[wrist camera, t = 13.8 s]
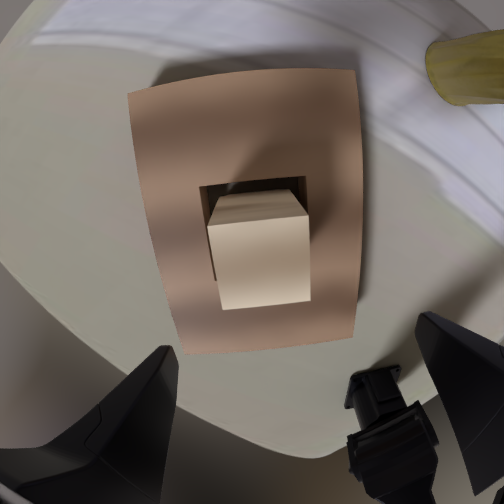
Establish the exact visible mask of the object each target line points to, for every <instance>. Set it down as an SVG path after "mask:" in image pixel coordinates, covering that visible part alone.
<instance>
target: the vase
mask: <svg viewBox="0 0 504 504" xmlns="http://www.w3.org/2000/svg"><path fill="white" fill-rule="evenodd" d="M426 69H427V72H428V76H429V78H430V81H431V83H432V85H433V86H434V88H435V90H436V91H437V92H438V94H439V95H440V96H441V97H442V98H443V99H444V100H446V101H447V102H449V103H450V104H452V105H455V106H465V105H468V104H504V29H503V30H495V31H489V32H483V33H478V34H473V35H469V36H466V37H462V38H458V39H454V40H449V41H442V42H435V43H433V44H431V45H430V47H429V48H428V50H427V53H426Z"/></svg>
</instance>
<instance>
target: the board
mask: <svg viewBox="0 0 504 504" xmlns="http://www.w3.org/2000/svg"><path fill="white" fill-rule="evenodd" d="M128 104H129V113H130V122H131V130H132V137H133V145H134V151H135V158H136V164H137V170H138V176H139V182H140V187H141V192H142V198H143V203H144V208H145V212H146V217H147V222H148V226H149V231H150V235H151V239H152V244H153V248H154V252H155V256H156V260H157V264H158V268H159V271H160V275H161V279H162V282H163V286H164V290H165V293H166V297H167V300H168V303H169V307H170V310H171V313H172V317H173V320H174V323H175V326H176V329H177V332H178V335H179V339H180V342H181V345H182V347H183V350H184V353H185V354H210V353H228V352H242V351H254V350H265V349H275V348H284V347H292V346H300V345H307V344H315V343H321V342H328V341H334V340H340V339H346V338H352V337H353V331H354V323H355V315H356V307H357V298H358V288H359V277H360V264H361V248H362V226H363V159H362V137H361V122H360V110H359V100H358V90H357V82H356V74H355V70H347V69H328V68H283V69H263V70H250V71H240V72H231V73H223V74H216V75H209V76H203V77H197V78H191V79H186V80H181V81H176V82H171V83H167V84H162V85H158V86H154V87H150V88H146V89H142V90H139V91H135V92H132V93H128ZM294 176H298V185H299V201H300V204H301V206H302V207H303V209H304V210H305V211H306V213H307V214H308V215H309V240H310V301H304V302H296V303H287V304H279V305H270V306H260V307H250V308H240V309H229V310H223V309H222V304H221V299H220V294H219V289H218V284H217V278H216V273H215V268H214V262H213V257H212V251H211V245H210V240H209V234H208V228H207V226H208V223H209V221H210V218H211V213H210V206H209V199H208V192H207V186H208V185H215V184H223V183H232V182H241V181H250V180H260V179H270V178H282V177H294Z"/></svg>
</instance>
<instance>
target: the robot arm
mask: <svg viewBox="0 0 504 504" xmlns="http://www.w3.org/2000/svg"><path fill="white" fill-rule="evenodd" d="M415 337H416V339H417V342H418V345H419V347H420V350H421V353H422V356H423V358H424V361H425V364H426V367H427V369H428V371H429V374H430V376H431V378H432V380H433V382H434V384H435V387H436V389H437V391H438V393H439V396H440V398H441V400H442V403H443V405H444V408H445V410H446V412H447V415H448V417H449V420H450V422H451V425H452V428H453V430H454V433H455V436H456V438H457V441H458V444H459V447H460V450H461V452H462V456H463V459H464V462H465V465H466V469H467V472H468V475H469V479H470V482H471V486H472V489H473V493H474V495H475V496H476V495H478V494H480V493H481V492H483V491H484V490H485V489H487V488H489V487H490V486H491V485H493V484H494V483H496V482H497V481H498V480H500V479H501V478H502V477H504V347H503V346H501V345H498V344H497V343H495V342H493V341H491V340H489V339H487V338H485V337H483V336H481V335H479V334H477V333H475V332H472V331H470V330H468V329H466V328H464V327H462V326H460V325H458V324H456V323H454V322H452V321H449V320H447V319H445V318H443V317H441V316H439V315H437V314H435V313H432V312H430V311H427V312H423V313H420V315H419V317H418V320H417V324H416V328H415ZM178 370H179V365H178V360H177V358H176V355H175V353H174V350H173V348H172V346H170V345H161V346H159V347H158V348H157V349H156V350H155V351H154V352H153V353H151V354H150V355H149V356H148V357H147V358H146V359H145V360H144V361H143V362H142V363H141V364H140V365H139V366H138V367H136V368H135V369H134V370H133V371H132V372H131V373H130V374H129V375H128V376H127V377H126V378H125V379H124V380H123V381H121V382H120V383H119V384H118V385H117V386H116V387H115V388H114V389H113V390H112V391H111V392H110V393H109V394H108V395H107V396H105V397H104V398H103V399H102V400H101V401H100V402H99V404H97V405H96V406H95V407H94V408H92V409H91V410H90V411H89V412H88V413H87V414H86V415H84V416H83V417H82V418H81V419H80V420H78V421H77V422H76V423H75V424H73V425H72V426H71V427H69V428H68V429H67V430H65V431H64V432H63V433H61V434H60V435H59V436H57V437H56V438H54V439H53V440H52V441H50V442H49V443H47V444H45V445H43V446H40V447H36V448H18V449H3V448H2V449H1V448H0V504H160V499H161V492H162V485H163V478H164V472H165V465H166V459H167V453H168V446H169V441H170V435H171V429H172V423H173V418H174V413H175V407H176V399H177V384H178ZM400 371H401V367H400V365H396V366H392V367H389V368H385V369H381V370H376V371H372V372H368V373H363V374H359V375H354V376H352V377H351V378H350V381H349V386H348V391H347V395H346V399H345V404H344V407H345V409H350V408H354V409H355V412H356V415H357V419H358V422H359V425H360V428H361V431H359V432H357V433H354V434H350V435H348V436H347V439H348V442H347V447H348V454H349V472H350V474H353V475H355V477H356V478H357V480H358V481H359V482H360V483H362V482H363V484H364V487H365V490H366V493H367V494H368V495H369V496H370V497H371V498H373V499H376V500H377V501H379V502H380V503H382V504H436V503H435V499H434V496H433V494H432V491H431V489H432V485H433V481H434V477H435V473H436V468H437V464H438V457H437V454H436V452H435V449H434V448H435V447H437V446H439V441H438V438H437V436H436V433H435V431H434V428H433V426H432V424H431V422H430V420H429V419H428V417H427V415H426V413H425V411H424V409H423V408H422V406H421V404H420V402H419V400H417V401H416V402H414V404H412V405H410V406H408V407H407V405H406V403H405V401H404V398H403V396H402V394H401V391H400V389H399V387H398V385H397V383H396V382H397V380H398V377H399V374H400ZM493 504H504V486H503V487H502V488H500V489H499V490H498V491H497V494H496V496H495V499H494V501H493Z"/></svg>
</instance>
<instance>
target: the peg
mask: <svg viewBox="0 0 504 504" xmlns="http://www.w3.org/2000/svg"><path fill="white" fill-rule="evenodd" d="M207 228H208V234H209V240H210V245H211V251H212V257H213V262H214V268H215V273H216V278H217V284H218V289H219V294H220V299H221V304H222V309H223V310H229V309H240V308H250V307H260V306H270V305H279V304H287V303H296V302H304V301H310V240H309V215H308V214H307V213H306V211H305V210H304V209H303V207H302V206H301V204H300V203H299V202H298V200H297V199H296V198H295V196H294V195H293V194H292V192H291V191H290V190H289V189H286V190H281V189H276V190H266V191H256V192H247V193H238V194H230V195H227V196H221V197H219V199H218V201H217V203H216V206H215V208H214V211H213V213H212V216H211V218H210V221H209V223H208V226H207Z"/></svg>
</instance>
